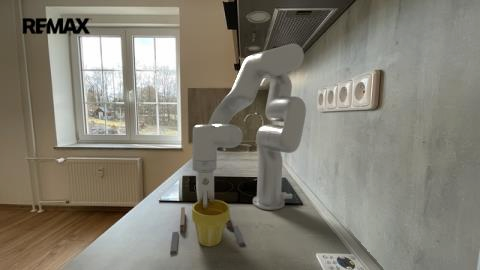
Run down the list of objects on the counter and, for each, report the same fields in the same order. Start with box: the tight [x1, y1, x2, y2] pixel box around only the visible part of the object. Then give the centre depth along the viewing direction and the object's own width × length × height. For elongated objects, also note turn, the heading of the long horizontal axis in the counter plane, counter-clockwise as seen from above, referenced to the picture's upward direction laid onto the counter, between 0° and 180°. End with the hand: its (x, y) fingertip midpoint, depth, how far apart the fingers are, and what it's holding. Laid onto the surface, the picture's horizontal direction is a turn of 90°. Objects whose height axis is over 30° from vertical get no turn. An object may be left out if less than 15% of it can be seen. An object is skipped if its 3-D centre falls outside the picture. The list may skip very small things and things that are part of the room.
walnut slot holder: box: [179, 206, 232, 234], centre depth 73 cm, size 15×12×2 cm
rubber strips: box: [169, 225, 246, 255], centre depth 62 cm, size 20×9×1 cm, turn 103°
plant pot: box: [191, 199, 231, 247], centre depth 62 cm, size 10×10×10 cm
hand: (203, 220), depth 70 cm, fingers closed
